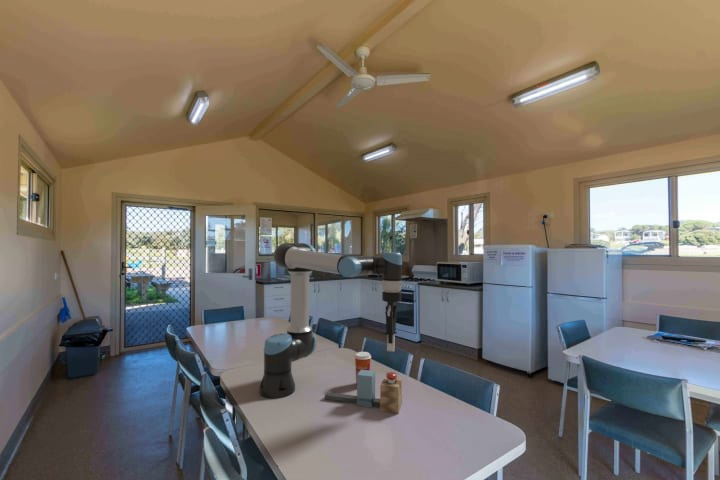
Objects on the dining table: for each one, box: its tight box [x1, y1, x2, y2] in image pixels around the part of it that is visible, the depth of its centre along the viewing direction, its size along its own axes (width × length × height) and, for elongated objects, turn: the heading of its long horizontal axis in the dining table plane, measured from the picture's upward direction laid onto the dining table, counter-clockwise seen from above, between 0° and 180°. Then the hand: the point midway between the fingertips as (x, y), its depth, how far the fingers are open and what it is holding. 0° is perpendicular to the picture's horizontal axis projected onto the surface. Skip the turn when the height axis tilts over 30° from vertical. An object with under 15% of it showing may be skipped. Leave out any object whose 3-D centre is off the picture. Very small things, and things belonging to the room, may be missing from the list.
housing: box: [379, 376, 403, 414], centre depth 133 cm, size 7×9×10 cm
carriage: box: [356, 370, 376, 408], centre depth 136 cm, size 6×6×12 cm
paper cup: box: [354, 351, 372, 384], centre depth 155 cm, size 8×8×14 cm
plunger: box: [385, 371, 398, 384], centre depth 133 cm, size 4×4×6 cm
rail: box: [324, 391, 380, 408], centre depth 137 cm, size 24×3×2 cm, turn 74°
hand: (390, 350), depth 134 cm, fingers closed
